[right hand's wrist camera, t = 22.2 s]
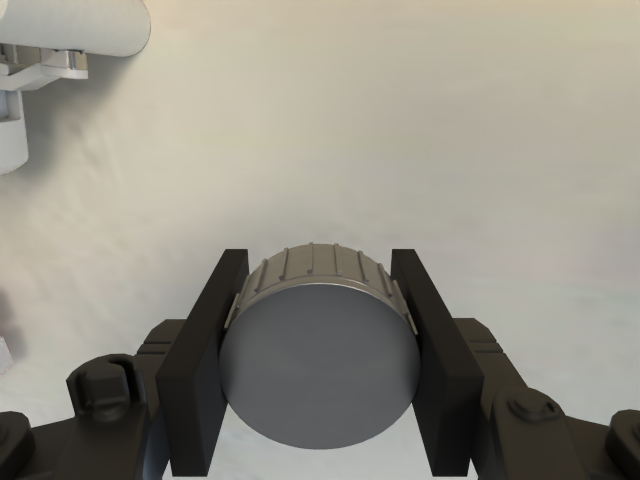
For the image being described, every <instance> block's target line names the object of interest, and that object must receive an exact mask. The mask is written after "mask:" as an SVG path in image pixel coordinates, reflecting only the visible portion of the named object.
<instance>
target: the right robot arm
mask: <svg viewBox="0 0 640 480" xmlns="http://www.w3.org/2000/svg"><path fill="white" fill-rule="evenodd" d="M248 274H249V264H248V249H225V251H224V253H223V255H222V256H221V258H220V260H219V262H218V264H217V265H216V267H215V269H214V271H213V273H212V274H211V276H210V278H209V280H208V282H207V283H206V285H205V287H204V289H203V291H202V292H201V294H200V296H199V298H198V300H197V301H196V303H195V305H194V307H193V309H192V310H191V312H190V314H189V316H188V318H187V319H166V320H165V321H163V322H162V323H160V324H159V325H158V326H156V327H155V328H153V329H152V330H151V332H150V333H149V335H148V336H147V337H146V339H145V340H144V343H143V344H142V345H141V346H140V348H139V349H138V351H137V354H136V355H134V356H131V355H127V354H109V355H105V356H101V357H97V358H95V359H93V360H90V361H88V362H86V363H84V364H82V365H81V366H80V367H78V368H77V369H75V370H74V371H73V372H72V373H71V374H70V376H69V377H68V378H67V380H66V383H67V387H68V390H69V394H70V398H71V401H72V405H73V408H74V412H75V416H74V417H73V418H70V419H67V420H63V421H59V422H55V423H51V424H46V425H42V426H38V427H33V428H31V426H30V423H29V420H28V418H27V417H26V416H25V415H24V414H22V413H19V412H13V411H8V412H1V413H0V480H162V476H163V474H164V471H165V469H166V466H167V464H168V461H169V459H170V464H171V470H172V476H173V477H207V475H208V471H209V467H210V464H211V460H212V457H213V453H214V450H215V446H216V443H217V439H218V436H219V432H220V429H221V425H222V422H223V418H224V415H225V411H226V408H227V404H228V401H227V400H226V398H225V395H224V393H223V391H222V388H221V382H220V373H219V363H218V355H219V350H220V345H221V343H222V340H223V337H224V335H225V332H226V331H224V330H223V328H224V325H225V322H226V320H227V317H228V315H229V312H230V310H231V307H232V304H233V302H234V299H235V297H236V294H237V293H238V294H240V292H241V289H242V287H243V284H244V281H245V279H246V276H247V275H248ZM390 277H391V278H392V280H393V281H394V280H396V281H397V283H398V286H399V288H400V291H401V293H402V296H403V299H405V301H406V304H407V306H408V309H409V312H410V314H411V317H412V319H413V322H414V324H415V327H416V330H417V332H418V338H417V341H418V344H419V347H420V352H421V370H420V379H419V387H418V390H417V392H416V394H415V397H414V399H413V401H412V405H413V409H414V412H415V416H416V419H417V423H418V426H419V430H420V433H421V437H422V440H423V444H424V447H425V451H426V454H427V458H428V461H429V465H430V468H431V472H432V475H433V477H467V474H468V469H469V463H470V457H471V460H472V462H473V465H474V467H475V470H476V472H477V475H478V480H640V411H638V410H631V409H629V410H622V411H618V412H617V413H616V414H615V415H613V416H612V419H611V422H610V425H609V426H606V425H601V424H597V423H593V422H588V421H584V420H580V419H576V418H572V417H569V416H566V415H565V413H564V412H563V410H562V409H561V407H560V406H559V404H557V403H556V402H555V401H554V400H553V399H551V398H550V397H549V396H547V395H545V394H544V393H542V392H540V391H538V390H536V389H532V388H529V387H528V386H527V385H526V383H525V382H524V381H523V379H522V378H521V376H520V375H519V373H518V372H517V370H516V369H515V367H514V366H513V364H512V363H511V361H510V360H509V358H508V357H507V355H506V354H505V353H503V349H502V348H501V347H500V345H499V344H498V343H497V342H496V339H495V338H494V336H493V335H492V333H491V332H490V330H489V329H488V328H487V327H486V326H484V325H483V324H481V323H480V322H479V321H477V320H476V319H474V318H452V316H451V315H450V313H449V311H448V309H447V307H446V306H445V304H444V302H443V300H442V298H441V297H440V295H439V293H438V291H437V289H436V288H435V286H434V284H433V282H432V280H431V279H430V277H429V275H428V273H427V271H426V270H425V268H424V266H423V264H422V262H421V261H420V259H419V257H418V255H417V253H416V252H415V250H414V249H392V260H391V275H390Z"/></svg>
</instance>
